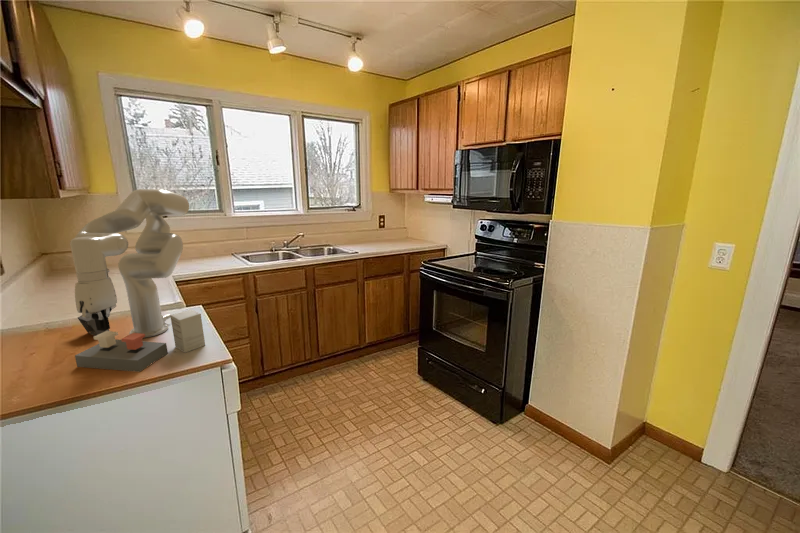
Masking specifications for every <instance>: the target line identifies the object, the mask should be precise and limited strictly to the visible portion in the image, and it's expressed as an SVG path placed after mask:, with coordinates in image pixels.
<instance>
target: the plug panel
mask: <svg viewBox="0 0 800 533" xmlns="http://www.w3.org/2000/svg"><path fill="white" fill-rule="evenodd" d="M115 340H116V344H114V345H112V346H110V347H108V348H105V347H100V346H99V343H97V344H95V345H93V346H91V347H89V348H87V349H85V350H84V351H80V352H79V353H77V354H75V355H74V358H75V359H74V360H75V363H76V366H77V368H87V369H88V368H89V369H99V370H101V369H102V370H111V369H112V371H125V372H135V373H141V371H143V370H144V369H147V368H148V367H149V366H151V365H152V364H154V363H155V362H157V361H158V359H159V358H160V359H161V357H162V356H163V357H165V356H166V355H168V354H169V353H168V347H167V342H159V341H144V340H142V342H143V346H142V347H140V348H138V349H136V350H132V349H127V345H126V342H122V340H121V339H117V338H115ZM164 355H165V356H164ZM163 357H162V358H163ZM160 359H159V360H160ZM156 360H157V361H156ZM154 361H155V362H154ZM153 362H154V363H153ZM151 363H152V364H151ZM150 364H151V365H150ZM147 366H148V367H147Z"/></svg>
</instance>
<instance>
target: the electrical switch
mask: <svg viewBox="0 0 800 533" xmlns="http://www.w3.org/2000/svg"><path fill="white" fill-rule="evenodd" d="M77 319H78V321H79V322H80V323H81V325H82V327H83V328H84V329H85V331H86V332H87V334H90V335H92V336H96V335H98V334H101V333H103V332H105V331H99V330H97V328H96V323H95V320H93V319H92V318H82V314H81V315H79V316H78V317H77ZM106 331H110V329H108V330H106Z"/></svg>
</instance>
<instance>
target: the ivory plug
mask: <svg viewBox="0 0 800 533" xmlns="http://www.w3.org/2000/svg"><path fill="white" fill-rule="evenodd" d="M118 332H119V331H113V330H112V331H111V330H109V331H105V332H103V333H101V334H98V335H96V336H95V335H93V340H95V341H98V344H99V346H100V347H105V348H108V347H110V346H112V345H114V344H116V340H115V339H116V336H118V335H119V333H118Z"/></svg>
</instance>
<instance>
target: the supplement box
mask: <svg viewBox="0 0 800 533" xmlns="http://www.w3.org/2000/svg"><path fill="white" fill-rule="evenodd" d="M170 317H171V318H170V322H171V328H172V329H171V330H172V333H173V335H172V336H173V340H174V341H173V342H174V346H175V348H177V349H179V350H180V351H181V352H183V353H188V352H190V351H193V350H196V349H198V348H201V347H204V346H205V345H206V342H205V336H204V327H203V321H202V313H200V312H197V311H195V310H193V309H191V308H190V309H186V310H184V311H180V312H176V313H173V314H170Z"/></svg>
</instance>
